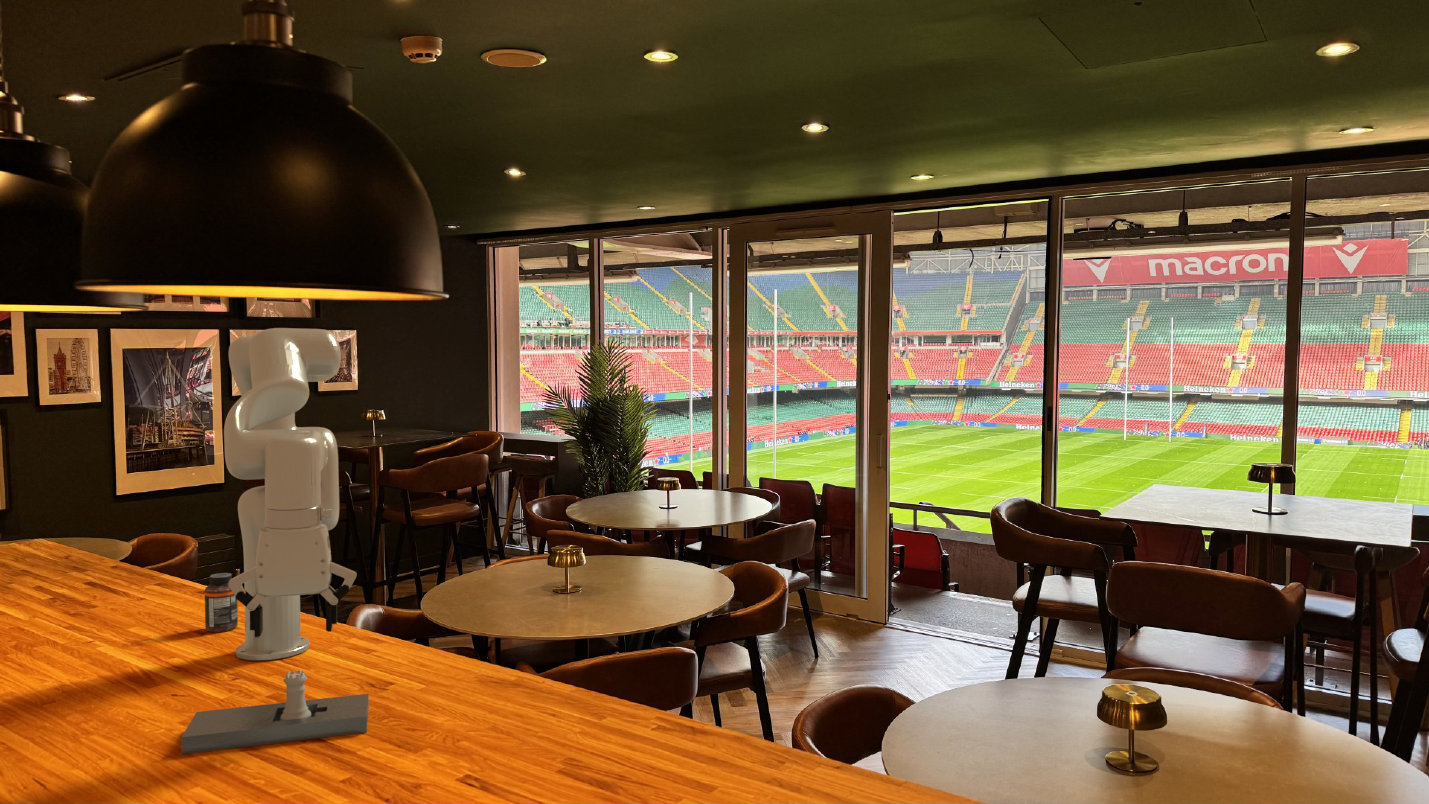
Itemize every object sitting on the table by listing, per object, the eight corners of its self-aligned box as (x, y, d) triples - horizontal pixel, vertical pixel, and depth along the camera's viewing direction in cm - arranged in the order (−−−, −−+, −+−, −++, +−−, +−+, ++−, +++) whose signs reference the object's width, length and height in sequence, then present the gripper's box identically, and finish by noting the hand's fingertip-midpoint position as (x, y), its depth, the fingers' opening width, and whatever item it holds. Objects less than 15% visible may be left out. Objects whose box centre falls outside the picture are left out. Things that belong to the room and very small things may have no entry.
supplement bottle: (208, 626, 190) (208, 572, 189) (240, 624, 192) (239, 570, 191) (202, 634, 184) (201, 578, 184) (234, 631, 186) (233, 576, 185)
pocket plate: (196, 727, 136) (196, 711, 135) (368, 708, 143) (368, 693, 143) (181, 754, 126) (181, 737, 126) (366, 732, 134) (366, 716, 134)
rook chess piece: (318, 722, 137) (318, 669, 137) (297, 733, 133) (297, 679, 132) (293, 718, 138) (293, 666, 138) (272, 730, 134) (271, 676, 134)
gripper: (357, 511, 141) (357, 620, 142) (232, 516, 135) (233, 629, 136) (355, 520, 134) (355, 634, 135) (223, 525, 128) (224, 645, 129)
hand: (294, 631), depth 136 cm, fingers open, 9 cm apart
